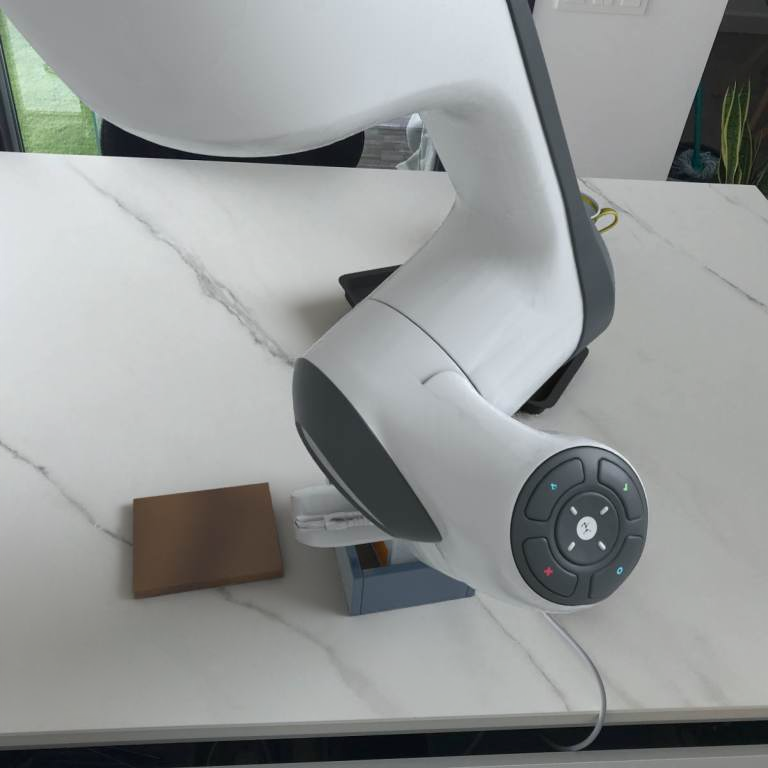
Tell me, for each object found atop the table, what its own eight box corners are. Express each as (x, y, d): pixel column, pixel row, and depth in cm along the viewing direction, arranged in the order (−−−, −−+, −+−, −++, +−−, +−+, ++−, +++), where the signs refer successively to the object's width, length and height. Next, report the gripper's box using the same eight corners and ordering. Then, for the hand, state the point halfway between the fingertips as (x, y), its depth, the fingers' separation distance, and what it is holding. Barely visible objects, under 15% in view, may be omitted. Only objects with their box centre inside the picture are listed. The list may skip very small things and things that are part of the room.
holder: (350, 616, 62) (353, 579, 59) (324, 508, 71) (326, 470, 68) (474, 596, 65) (484, 559, 62) (435, 493, 73) (441, 456, 70)
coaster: (134, 599, 62) (132, 592, 61) (134, 505, 69) (132, 498, 69) (283, 577, 65) (283, 569, 64) (268, 489, 72) (268, 481, 71)
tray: (593, 337, 95) (603, 301, 92) (557, 460, 78) (569, 422, 75) (366, 276, 102) (368, 241, 98) (287, 378, 85) (287, 339, 81)
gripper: (306, 581, 46) (284, 552, 59) (619, 532, 50) (533, 516, 64) (294, 474, 46) (275, 469, 59) (606, 435, 51) (523, 439, 64)
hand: (411, 493), depth 62 cm, fingers open, 8 cm apart
